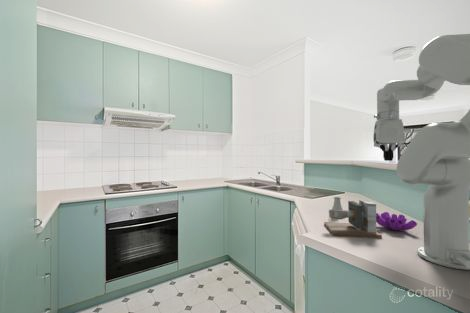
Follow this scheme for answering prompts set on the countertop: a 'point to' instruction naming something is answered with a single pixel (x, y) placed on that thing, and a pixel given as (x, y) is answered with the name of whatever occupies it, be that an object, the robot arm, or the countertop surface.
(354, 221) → the dark grey square panel
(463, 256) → the robot arm
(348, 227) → the pipe stand
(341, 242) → the countertop surface
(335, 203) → the flask
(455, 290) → the countertop surface
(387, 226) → the purple lumpy piece
